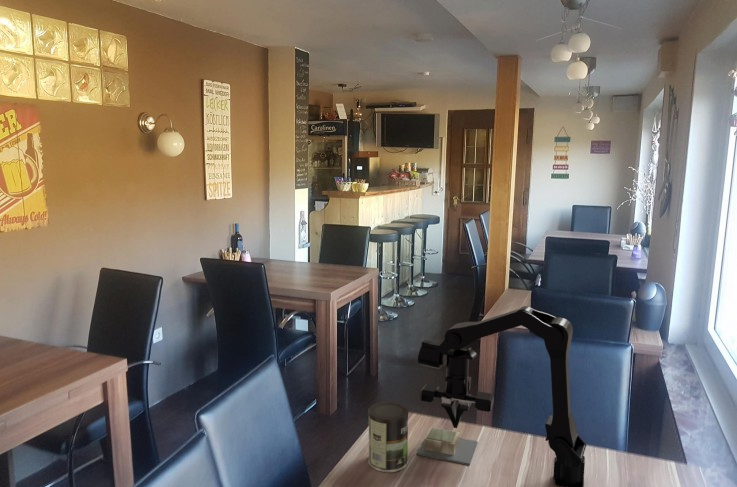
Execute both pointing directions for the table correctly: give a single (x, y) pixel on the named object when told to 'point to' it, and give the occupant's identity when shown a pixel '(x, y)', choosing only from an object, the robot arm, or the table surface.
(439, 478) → the table surface
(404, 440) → the coffee can
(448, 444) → the beech board
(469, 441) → the slate mat
